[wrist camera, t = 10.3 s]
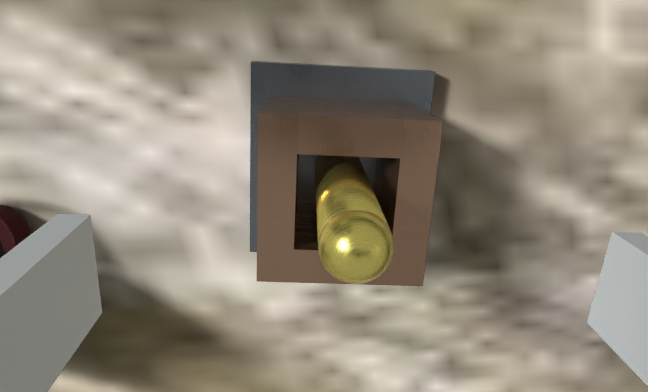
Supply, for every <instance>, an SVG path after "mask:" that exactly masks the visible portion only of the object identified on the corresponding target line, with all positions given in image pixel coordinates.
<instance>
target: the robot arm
mask: <svg viewBox="0 0 648 392" xmlns="http://www.w3.org/2000/svg"><path fill="white" fill-rule="evenodd" d="M101 314H102V306H101V298H100V289H99V281H98V273H97V265H96V256H95V248H94V240H93V231H92V223H91V215H81V214H57V215H56V216H54V217H53V218H52V219H50V220H49V221H48V222H46V223H45V224H44V225H43V226H41V227H40V228H39V229H37V230H36V231H35V232H34V233H32V234H31V235H30V236H28V237H27V238H26V239H24V240H23V241H22V242H21V243H19V244H18V245H17V246H15V247H14V248H13V249H12V250H10V251H9V252H8V253H6V254H5V255H4V256H2V257H1V258H0V392H48V390H49V389H50V387H51V386H52V384H53V383H54V382H55V380H56V379H57V377H58V376H59V374H60V373H61V371H62V370H63V369H64V367H65V366H66V364H67V363H68V361H69V360H70V358H71V357H72V356H73V354H74V353H75V351H76V350H77V348H78V347H79V346H80V344H81V343H82V341H83V340H84V338H85V337H86V335H87V334H88V333H89V331H90V330H91V328H92V327H93V325H94V324H95V322H96V321H97V320H98V318H99V317H100V315H101ZM587 323H588V324H589V325H590V326H591V328H592V329H593V330H594V331H595V332H596V333H597V334H598V335H599V336H600V337H601V338H602V339H603V340H604V341H605V342H606V343H607V344H608V345H609V346H610V347H611V348H612V349H613V350H614V351H615V353H616V354H617V355H618V356H619V357H620V358H621V359H622V360H623V361H624V362H625V363H626V364H627V365H628V366H629V367H630V368H631V369H632V370H633V371H634V372H635V373H636V374H637V375H638V376H639V377H640V379H641V380H642V381H643V382H644V383H645V384H646V385H647V386H648V237H647V236H645V235H644V234H642V233H634V232H612V235H611V239H610V242H609V246H608V249H607V253H606V256H605V260H604V263H603V267H602V270H601V274H600V277H599V281H598V284H597V288H596V291H595V295H594V299H593V302H592V306H591V309H590V313H589V316H588V320H587Z"/></svg>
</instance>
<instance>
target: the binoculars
mask: <svg viewBox="0 0 648 392" xmlns="http://www.w3.org/2000/svg"><path fill="white" fill-rule="evenodd" d="M30 235H31V233H30V230H29V227H28V225H27V223H26V222H25V220H24V219H23V217H22V216H21V215H20V214H19V213H18V212H16V211H15V210H13V209H12V208H10V207H7V206H4V205H0V258H1V257H2V256H4V255H5V254H6V253H8V252H9V251H10V250H12V249H13V248H14V247H15V246H17V245H18V244H19V243H21V242H22V241H23V240H24V239H26V238H27V237H28V236H30Z"/></svg>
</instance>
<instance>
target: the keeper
mask: <svg viewBox="0 0 648 392" xmlns="http://www.w3.org/2000/svg"><path fill="white" fill-rule="evenodd" d="M434 79H435V72H434V71H428V70H409V69H391V68H372V67H353V66H335V65H316V64H298V63H279V62H260V61H252V62H251V149H250V252H257V181H258V112H259V111H260V110H261V108H262V107H263V105H264V104H265V102H266V101H267V100H268V98H269V97H270V96H289V97H311V98H332V99H354V100H375V101H396V102H412V103H413V104H415V105H417V106H418V107H420V108H422V109H423V110H425V111H427V112H428V113H430V112H431V104H432V96H433V88H434ZM375 168H376V157H353V156H329V155H305V154H299V167H298V196H297V202H303V203H316V212H317V235H318V251H319V256H320V259H321V261H322V264H323V265H324V267H325V268H326V270H327V271H328V272H329V273H330V274H331V275H332V276H334V277H335V278H337V279H338V280H340V281H343V282H346V283H350V284H362V283H367V282H370V281H372V280H374V279H376V278H377V277H379V276H380V275H381V274H382V273H383V272H384V271H385V270H386V269H387V267H388V266H389V264H390V262H391V259H392V256H393V251H394V241H393V237H392V233H391V231H390V228H389V226H388V224H387V221H386V219H385V217H384V214H383V212H382V210H381V207H380V205H379V203H378V200H377V198H376V196H375V193H374V179H375Z"/></svg>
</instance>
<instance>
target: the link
mask: <svg viewBox="0 0 648 392" xmlns="http://www.w3.org/2000/svg"><path fill="white" fill-rule="evenodd" d="M443 122H444V121H442V120H440V119H438V118H437V117H435V116H433V115H432V114H430V113H428V112H427V111H425V110H423V109H422V108H420V107H418V106H417V105H415V104H413V103H412V102H396V101H375V100H354V99H332V98H311V97H289V96H270V97H269V98H268V100H267V101H266V102H265V104H264V105H263V107H262V108H261V110H260V111H259V112H258V181H257V281H266V282H300V283H333V284H350V283H346V282H343V281H340V280H338V279H337V278H335V277H334V276H332V275H331V274H330V273H329V272H328V271H327V270H326V268H325V267H324V265H323V264H322V261H321V259H320V256H319V251H318V235H317V212H316V203H303V202H297V196H298V167H299V154H305V155H329V156H353V157H376V168H375V179H374V193H375V196H376V198H377V200H378V203H379V205H380V207H381V210H382V212H383V214H384V217H385V219H386V221H387V224H388V226H389V228H390V231H391V233H392V237H393V241H394V251H393V256H392V259H391V262H390V264H389V266H388V267H387V269H386V270H385V271H384V272H383V273H382V274H381V275H380V276H379V277H377V278H376V279H374V280H372V281H370V282H367V283H362V284H367V285H401V286H423V278H424V271H425V263H426V255H427V247H428V239H429V231H430V224H431V216H432V208H433V200H434V192H435V184H436V176H437V169H438V161H439V153H440V145H441V137H442V129H443Z"/></svg>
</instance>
